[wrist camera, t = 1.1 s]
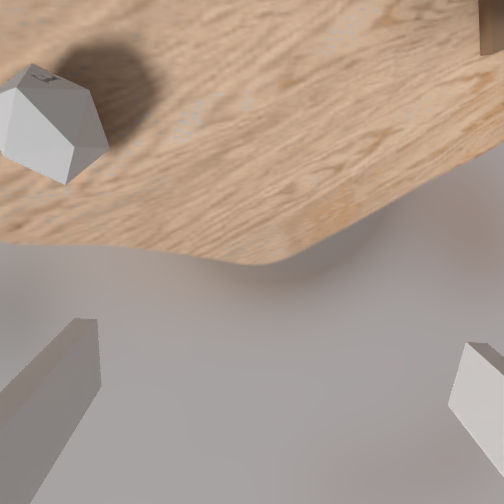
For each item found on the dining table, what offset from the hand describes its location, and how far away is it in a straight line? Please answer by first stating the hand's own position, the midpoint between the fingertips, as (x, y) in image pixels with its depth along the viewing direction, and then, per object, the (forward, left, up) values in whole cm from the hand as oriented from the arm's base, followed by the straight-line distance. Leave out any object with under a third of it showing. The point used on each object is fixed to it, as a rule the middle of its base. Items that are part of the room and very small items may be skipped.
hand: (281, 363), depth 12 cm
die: (-11, -11, -28) cm, 32 cm away
